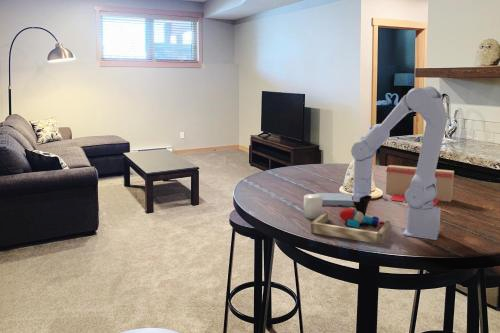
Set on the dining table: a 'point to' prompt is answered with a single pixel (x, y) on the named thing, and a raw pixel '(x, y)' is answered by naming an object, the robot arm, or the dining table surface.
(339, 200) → the slate box
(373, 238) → the wooden tray
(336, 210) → the dining table surface
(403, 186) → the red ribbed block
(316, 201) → the cream rounded block
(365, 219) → the toy figure
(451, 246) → the dining table surface
